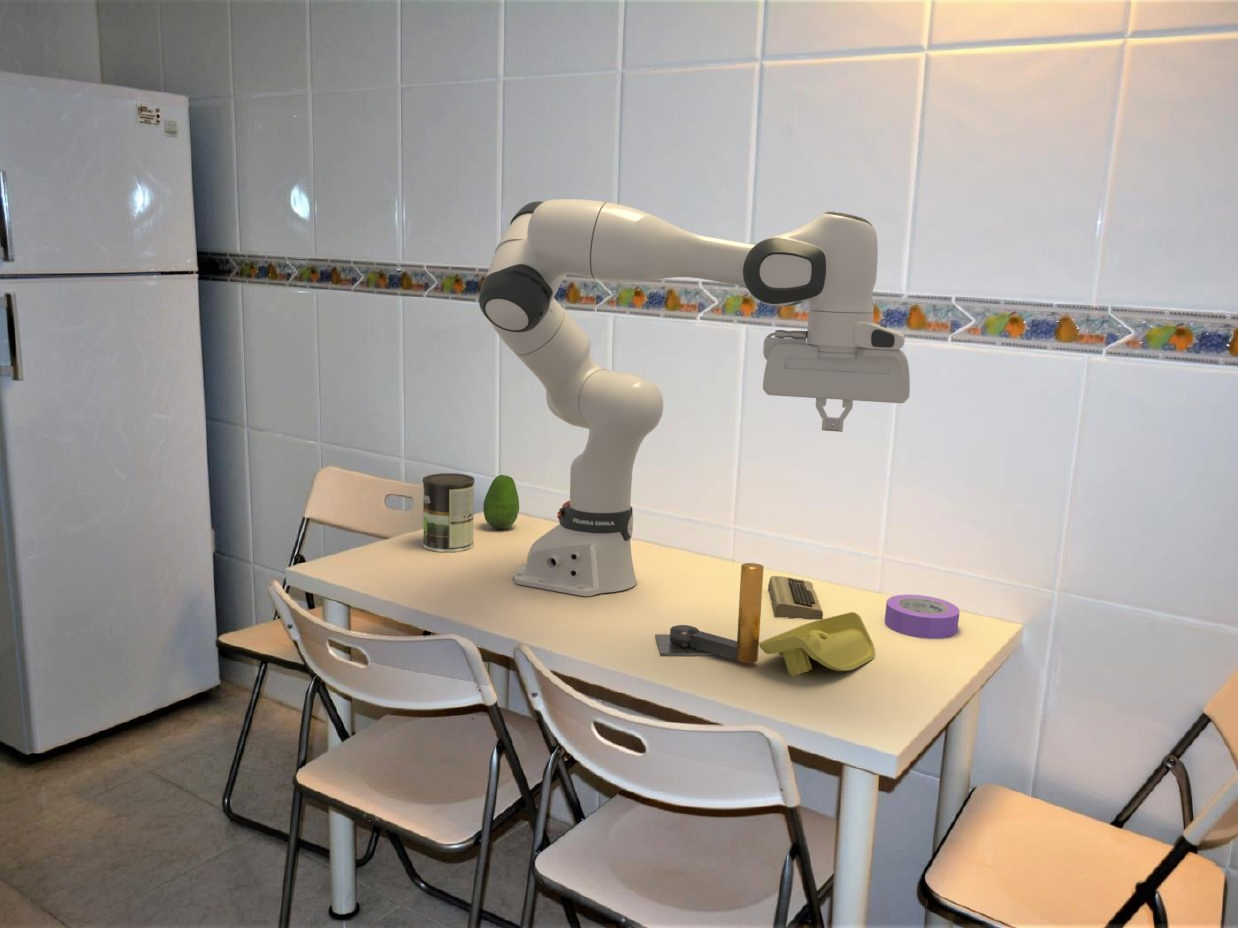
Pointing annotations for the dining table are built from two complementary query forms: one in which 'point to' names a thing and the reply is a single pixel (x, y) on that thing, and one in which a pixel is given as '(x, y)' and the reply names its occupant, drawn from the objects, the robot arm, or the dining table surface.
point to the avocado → (501, 503)
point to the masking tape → (922, 616)
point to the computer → (794, 598)
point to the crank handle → (747, 623)
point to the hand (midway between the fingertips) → (832, 430)
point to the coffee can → (448, 512)
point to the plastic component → (824, 644)
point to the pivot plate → (677, 648)
